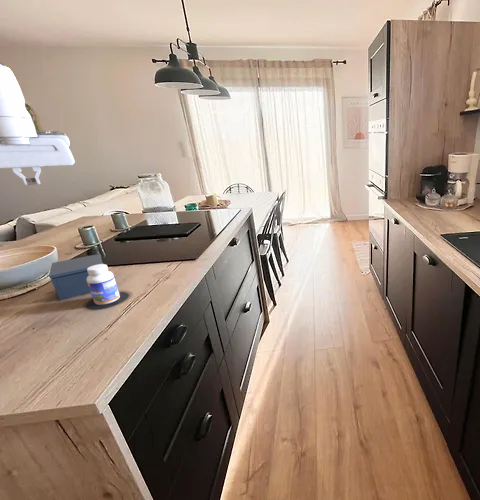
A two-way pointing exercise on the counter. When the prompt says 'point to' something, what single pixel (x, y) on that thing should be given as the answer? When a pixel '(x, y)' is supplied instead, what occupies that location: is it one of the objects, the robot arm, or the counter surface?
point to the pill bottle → (102, 284)
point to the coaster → (94, 306)
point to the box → (71, 285)
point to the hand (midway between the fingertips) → (33, 184)
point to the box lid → (74, 265)
